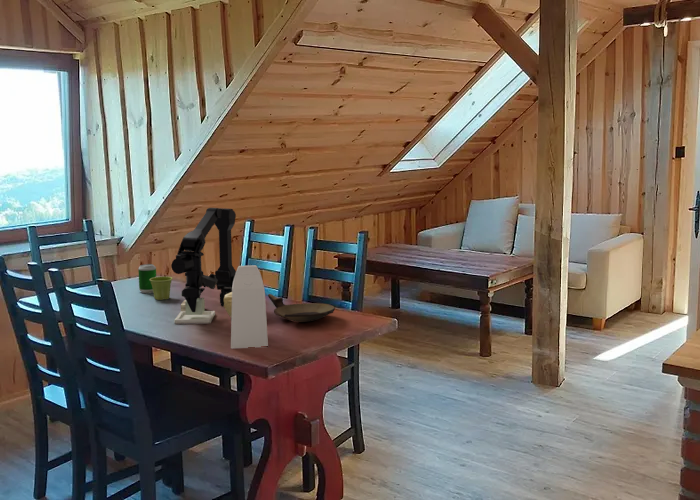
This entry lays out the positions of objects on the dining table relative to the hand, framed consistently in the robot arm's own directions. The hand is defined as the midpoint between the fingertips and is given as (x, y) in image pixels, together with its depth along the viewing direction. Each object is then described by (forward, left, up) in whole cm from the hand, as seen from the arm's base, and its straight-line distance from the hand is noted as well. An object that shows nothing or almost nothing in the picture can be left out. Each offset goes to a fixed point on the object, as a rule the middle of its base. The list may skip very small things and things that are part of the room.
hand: (195, 310), depth 260 cm
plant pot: (+20, -36, -4) cm, 41 cm away
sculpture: (-17, -2, -4) cm, 18 cm away
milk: (-23, +32, -4) cm, 40 cm away
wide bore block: (+3, -13, -4) cm, 14 cm away
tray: (0, 0, -4) cm, 4 cm away
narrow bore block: (0, 0, -1) cm, 1 cm away
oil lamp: (-40, +1, -4) cm, 40 cm away
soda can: (+29, -50, -4) cm, 58 cm away
